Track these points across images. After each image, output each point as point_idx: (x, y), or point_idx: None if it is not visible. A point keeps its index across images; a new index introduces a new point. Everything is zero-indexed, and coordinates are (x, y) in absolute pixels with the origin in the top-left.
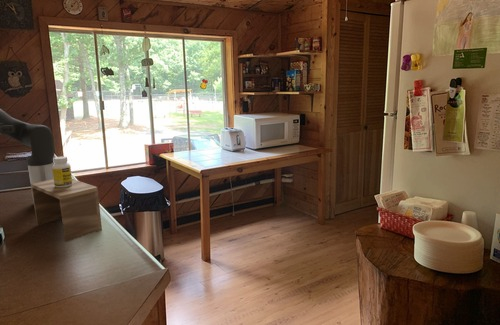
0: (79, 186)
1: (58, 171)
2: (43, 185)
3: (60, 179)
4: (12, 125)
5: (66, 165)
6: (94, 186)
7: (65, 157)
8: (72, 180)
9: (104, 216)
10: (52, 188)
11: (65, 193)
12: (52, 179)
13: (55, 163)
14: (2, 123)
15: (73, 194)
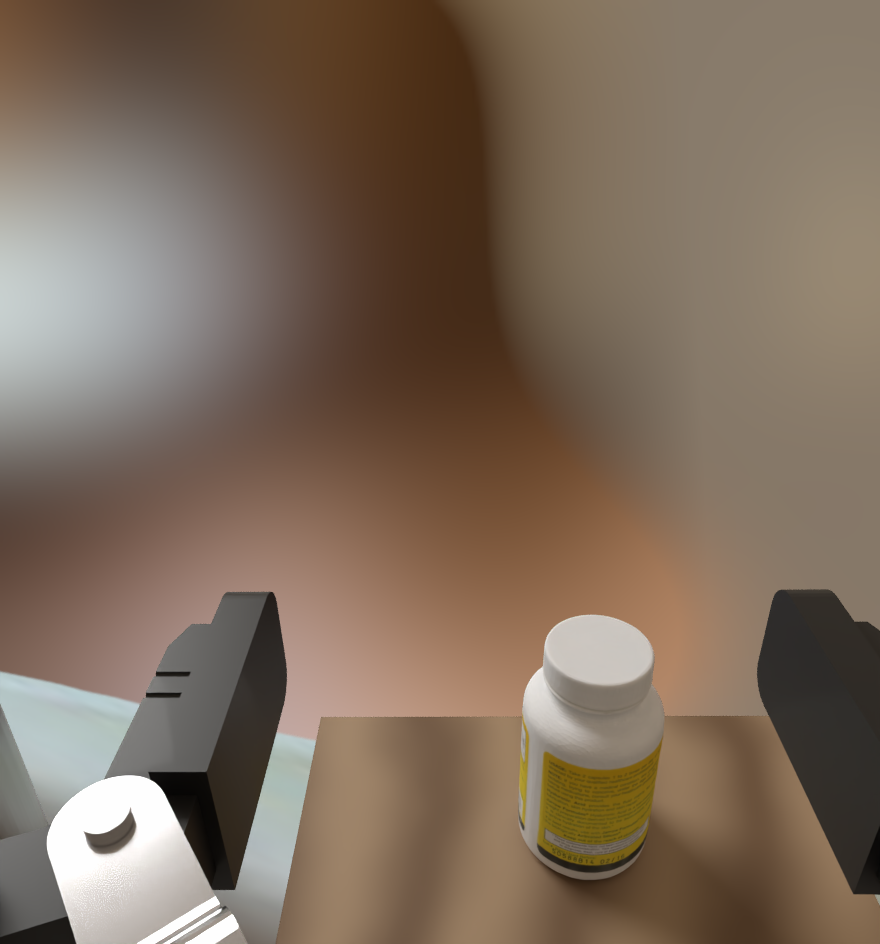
0: (685, 769)
1: (649, 767)
2: (433, 918)
3: (647, 812)
4: (839, 601)
5: (651, 685)
6: (752, 718)
7: (618, 626)
8: (470, 733)
9: None
10: (598, 910)
11: (843, 909)
12: (306, 799)
13: (601, 717)
14: (240, 598)
15: None
